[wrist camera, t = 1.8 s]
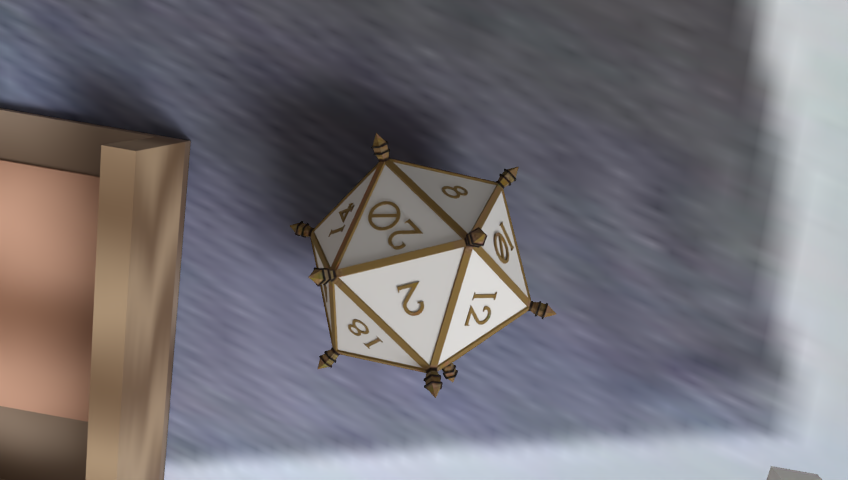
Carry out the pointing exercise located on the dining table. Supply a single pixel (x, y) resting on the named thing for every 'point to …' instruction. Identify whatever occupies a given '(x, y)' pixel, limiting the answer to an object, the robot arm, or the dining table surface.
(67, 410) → the brown wooden tray
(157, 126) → the dining table surface
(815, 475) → the robot arm
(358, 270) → the game die
